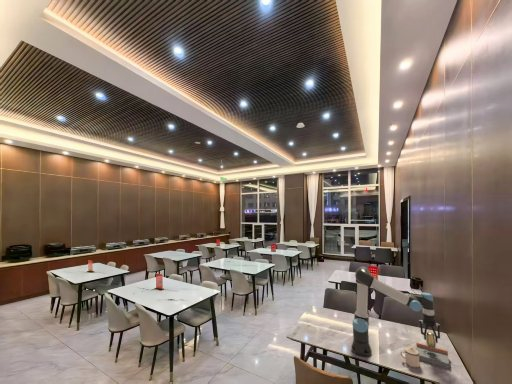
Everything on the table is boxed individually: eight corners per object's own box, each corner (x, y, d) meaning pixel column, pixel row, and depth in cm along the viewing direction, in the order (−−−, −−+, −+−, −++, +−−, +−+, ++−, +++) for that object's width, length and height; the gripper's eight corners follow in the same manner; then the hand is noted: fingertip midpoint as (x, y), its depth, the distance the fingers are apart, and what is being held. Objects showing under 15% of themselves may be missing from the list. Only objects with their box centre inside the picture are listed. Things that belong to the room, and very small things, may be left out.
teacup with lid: (420, 362, 174) (418, 346, 175) (420, 369, 167) (419, 352, 168) (401, 357, 181) (400, 341, 182) (400, 363, 173) (399, 346, 175)
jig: (415, 358, 179) (415, 350, 180) (416, 349, 192) (416, 341, 192) (449, 369, 167) (448, 360, 168) (448, 358, 180) (447, 350, 180)
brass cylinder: (427, 347, 179) (426, 333, 180) (427, 344, 183) (426, 331, 184) (435, 349, 176) (434, 335, 177) (435, 346, 180) (433, 333, 181)
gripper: (414, 312, 185) (417, 344, 182) (443, 318, 174) (446, 351, 171) (415, 309, 190) (417, 340, 188) (442, 315, 180) (445, 347, 177)
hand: (431, 345), depth 180 cm, fingers closed on brass cylinder, 5 cm apart
